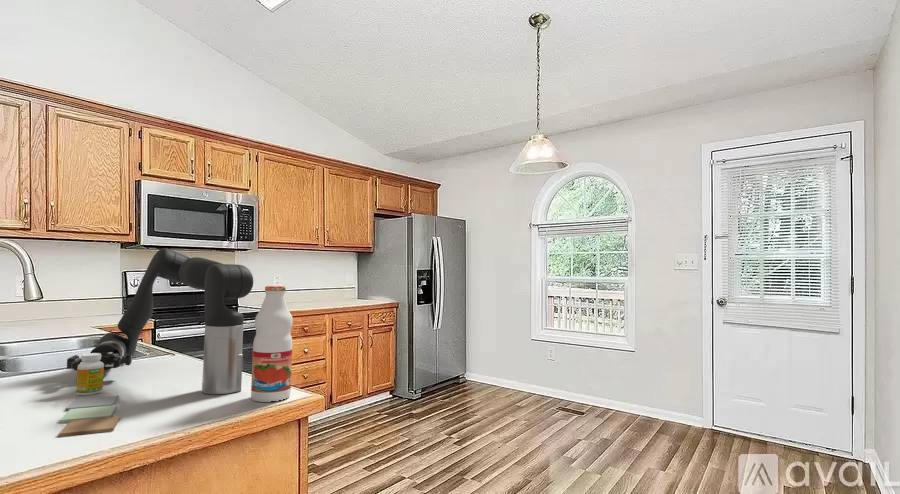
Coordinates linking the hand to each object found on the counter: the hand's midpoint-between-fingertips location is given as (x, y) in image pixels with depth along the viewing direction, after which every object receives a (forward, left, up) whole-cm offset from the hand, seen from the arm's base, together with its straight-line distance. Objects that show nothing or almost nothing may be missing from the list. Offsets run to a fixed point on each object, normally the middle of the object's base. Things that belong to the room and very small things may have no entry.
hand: (95, 365), depth 126 cm
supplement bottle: (0, +5, -6) cm, 8 cm away
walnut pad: (-6, +36, -6) cm, 37 cm away
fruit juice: (-41, +26, -6) cm, 49 cm away
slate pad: (-3, +17, -6) cm, 19 cm away
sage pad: (-4, +27, -6) cm, 28 cm away
